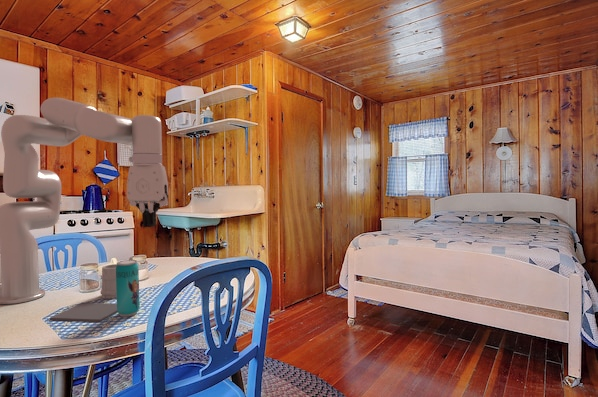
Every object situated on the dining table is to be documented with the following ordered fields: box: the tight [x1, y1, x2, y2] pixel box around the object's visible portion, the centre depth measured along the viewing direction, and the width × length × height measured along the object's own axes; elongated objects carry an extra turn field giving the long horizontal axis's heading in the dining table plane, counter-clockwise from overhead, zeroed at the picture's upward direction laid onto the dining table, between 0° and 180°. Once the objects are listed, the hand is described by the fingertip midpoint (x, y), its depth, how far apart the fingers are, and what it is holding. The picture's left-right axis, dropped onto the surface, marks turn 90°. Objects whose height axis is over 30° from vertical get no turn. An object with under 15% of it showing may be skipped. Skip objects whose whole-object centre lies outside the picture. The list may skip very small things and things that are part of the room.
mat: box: [49, 302, 118, 323], centre depth 98 cm, size 15×12×1 cm
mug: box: [100, 256, 134, 300], centre depth 115 cm, size 8×12×12 cm, turn 139°
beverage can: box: [116, 259, 140, 318], centre depth 96 cm, size 6×6×15 cm
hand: (149, 226), depth 95 cm, fingers closed
